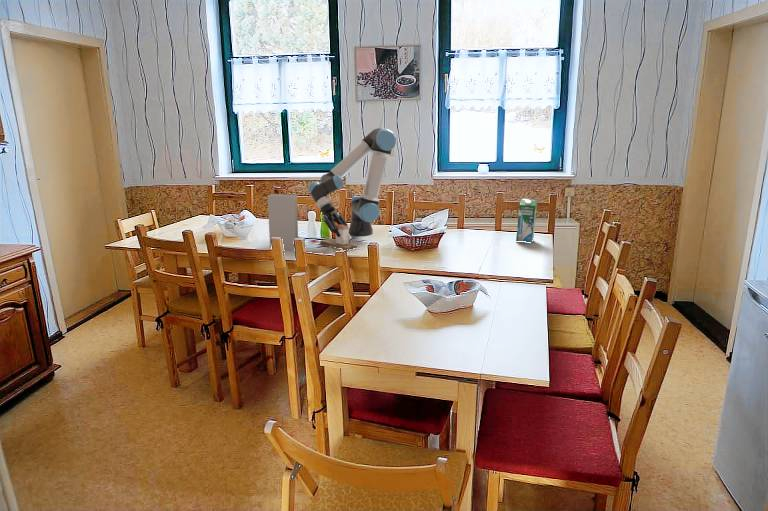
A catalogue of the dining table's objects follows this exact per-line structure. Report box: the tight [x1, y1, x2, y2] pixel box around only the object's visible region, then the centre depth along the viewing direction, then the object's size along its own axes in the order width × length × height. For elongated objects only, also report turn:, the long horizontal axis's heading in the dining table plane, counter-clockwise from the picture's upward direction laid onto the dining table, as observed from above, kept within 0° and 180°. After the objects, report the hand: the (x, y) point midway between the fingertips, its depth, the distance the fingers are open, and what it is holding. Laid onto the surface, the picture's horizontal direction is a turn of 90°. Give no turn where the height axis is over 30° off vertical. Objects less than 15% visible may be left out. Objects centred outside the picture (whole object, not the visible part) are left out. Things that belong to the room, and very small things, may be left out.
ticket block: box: [319, 237, 359, 251], centre depth 286 cm, size 8×22×2 cm, turn 49°
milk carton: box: [515, 198, 538, 243], centre depth 301 cm, size 9×9×25 cm
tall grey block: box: [267, 193, 299, 253], centre depth 273 cm, size 14×6×30 cm, turn 84°
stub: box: [335, 224, 349, 245], centre depth 282 cm, size 4×6×10 cm
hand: (346, 240), depth 281 cm, fingers open, 4 cm apart
